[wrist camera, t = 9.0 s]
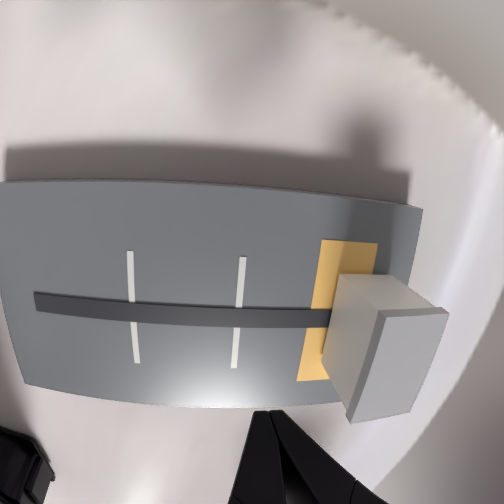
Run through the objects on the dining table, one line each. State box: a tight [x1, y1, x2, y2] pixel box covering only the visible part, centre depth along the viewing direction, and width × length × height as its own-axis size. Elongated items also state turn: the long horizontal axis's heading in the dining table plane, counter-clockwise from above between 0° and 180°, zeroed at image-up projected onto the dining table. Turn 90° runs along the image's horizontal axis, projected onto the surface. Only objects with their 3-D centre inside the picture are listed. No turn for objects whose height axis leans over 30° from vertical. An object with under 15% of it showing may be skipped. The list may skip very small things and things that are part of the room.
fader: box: [321, 274, 450, 424], centre depth 13 cm, size 3×5×5 cm, turn 174°
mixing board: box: [0, 179, 423, 408], centre depth 15 cm, size 22×12×2 cm, turn 84°
